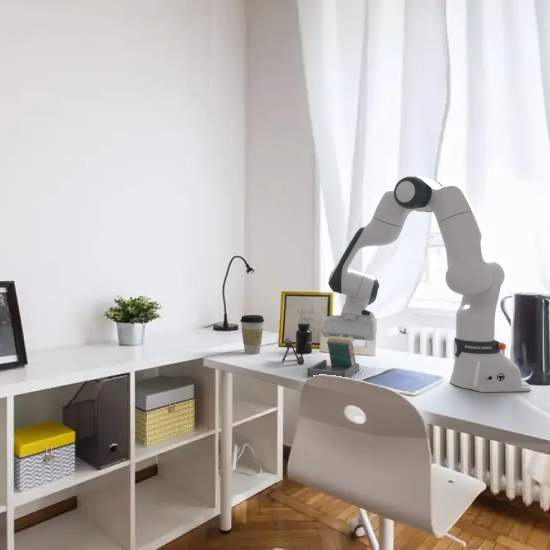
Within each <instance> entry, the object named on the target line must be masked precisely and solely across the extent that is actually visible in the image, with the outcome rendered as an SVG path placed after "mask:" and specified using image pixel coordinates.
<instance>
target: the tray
mask: <svg viewBox="0 0 550 550" xmlns="http://www.w3.org/2000/svg"><path fill="white" fill-rule="evenodd" d="M327 362H328V361H327V359H323V360H321V361H320V362H319V361H318V363H316V364H314V365H312V366H310V367H308V368H307V375H308V376H307V377H310V376H313V375H319V374H327V375H336V376H342V377H349V378H351V377H353V374H354V373H355V374H357V373H358V372H360V363H358V362H356V364H354V365H353V366H351V367H350V368H341V367H332V366H331V365H327V364H328V363H327ZM357 371H358V372H357ZM355 374H354V375H355ZM350 376H351V377H350Z"/></svg>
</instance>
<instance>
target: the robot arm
mask: <svg viewBox="0 0 550 550" xmlns="http://www.w3.org/2000/svg"><path fill="white" fill-rule="evenodd" d="M378 202H379V203H378V204H377V206H376V209H375V210H374V213H373V215H372V218H371V220H370V222H369V223H368V224H367V225H365V226H364V227H360V228H359V229H358V230H357V231H356V232H355V234H354V236H353V237H352V239H351V240H350V242H349V243H348V245H347V247H346V249H345V250H344V253H343V254H342V255H341V258H340V259H339V261H338V263H337V265H336V266H335V267H334V268H333V270H332V271H331V273H330V275H329V277H328V282H327V283H328V286H329V288H330V289H331V290H332V292H333V293H337V294H341V295H342V294H343V295H345V302H344V304H343V306H342V309H341V313H340V315H337V314H336V315H333V314H329V316H325V319H324V321H323V323H322V326H321V327H320V333H321V335H322V336H323V338H329V337H330V336H336V337H348V338H352V342H353V343H354V341H355V340H356V341H358V340H359V341H369V342H373V341H374V340H375V339H376V338H377V326H376V325H377V320H376V316H375V314H374V312H373V311H371V310H367V307H368V306H370V305H371V304H373V303H374V302H375V301H376V300H377V295H378V291H379V288H380V283H379V281H378V279H377V278H376V277H375V276H372V275H369V274H367V273H363V272H360V271H357V270H354V269H351V268H350V266H351V264H352V262H353V260H354V258H355V256H356V255H357V253H358V252H359V251H360V250H361V249H363V248H366V247H374V246H375V247H378V246H379V247H380V246H387V245H391V244H392V243H394V242H395V241H396V240H397V239H399V236H400V235H401V232H402V230H403V228H404V226H405V223H406V220H407V217H408V216H409V214H410V213H412V212H414V211H416V212H420V213H421V212H423V213H431V212H432V213H433V214H434V216H435V219H436V222H437V225H438V228H439V231H440V234H441V238H442V240H443V244H444V247H445V252H446V253H445V254H446V263H447V270H446V273H445V283H446V285H447V287H448V288H449V290H451V292H453V293H455V294H458V295H462V298H461V302H460V304H459V307H458V309H457V311H456V316H455V317H456V320H455V324H456V325H455V337H454V341H453V354H454V360H453V361H454V362H453V367H452V371H451V372H452V373H451V376H450V379H449V383H451V385H453V386H456V387H459V388H463V389H469V390H474V391H476V392H480V393H499V392H500V393H501V392H502V393H503V392H505V393H506V392H507V393H508V392H510V393H511V392H512V393H513V392H529V391H531V389H530V388H531V387H530V386H531V385H530V384H529V383H528V382H526V381H525V380H523V379H522V373H521V370H520V367H518V365H517V364H516V363H514V362H513V360H511V359H510V358H509V357H507V356H506V355H505V354H504V353H502V352H501V351H505V350H506V348H507V344H505V343H504V342H499V340H496V339H495V330H496V329H495V326H496V323H495V322H496V311H497V305H498V301H499V296H500V292H501V287H502V285H503V283H504V280H505V278H506V277H505V275H506V274H505V270H504V269H503V267H502V266H501V264H499V263H498V262H496V261H494V260H492V259H489V258H483V253H482V252H483V251H482V247H481V242H482V233H481V230H480V227H479V224H478V222H477V219H476V216H475V213H474V211H473V208H472V205H471V204H470V201H469V198H468V197H467V196H466V194H465V192H464V190H463V188H462V187H460V186H459V185H456V184H447V185H443V184H441V182H438V181H436V180H432V179H429V178H427V177H422V176H416V175H409V176H405V177H402V178H401V179H400V180H398V182H397V183H396V184H395V186H394V189H388V190H387V191H385V192H384V194H383V195H382V197H381V199H380V200H379V201H378Z"/></svg>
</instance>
